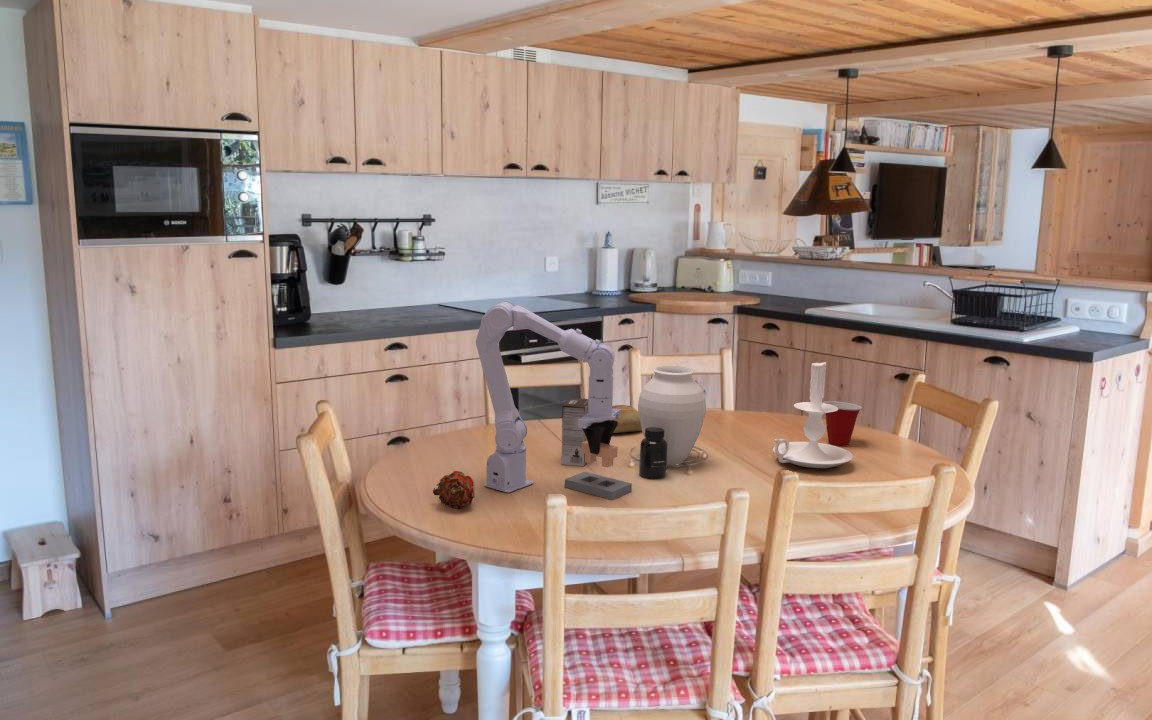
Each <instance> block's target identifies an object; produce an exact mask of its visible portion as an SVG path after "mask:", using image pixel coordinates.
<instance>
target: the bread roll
mask: <svg viewBox="0 0 1152 720" xmlns="http://www.w3.org/2000/svg"><path fill="white" fill-rule="evenodd" d="M614 408H615V409H620V410H621V417H620V418H616V419H615V420H614V421H617V422H618V426H617V427H616V429H615V430H614V432H613V434H619V433H621V434H622V433H630V432H640V431H642V428H641V423H640V418H639V413H638V409H636V408H634V407H632V406H631V405H625V404H623V405H622V404H617V405H616V404H615V405H612V409H614Z"/></svg>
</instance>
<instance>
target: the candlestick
mask: <svg viewBox="0 0 1152 720" xmlns="http://www.w3.org/2000/svg"><path fill="white" fill-rule="evenodd" d="M815 361H816V362H812V363H811V366H810V384H809V400H810V401H802V402H796V403H795V404H793V407H794V408H795V409H798V410H801V411H802V412H806V413H807V414H808V417H807V419H806V421H805V422H804V424H803V427H802V428H803V429H802V430H803V433H804V435H805V436H806V438H807V439H808V441H788V440H787V439H786V438H785V439H784V438H780V439H778V438H775V439H773V441H774V442H775V445H774V447H772V448H773V449H772V451H773V452H774V454H776V455H777V457H778V462H779V463H782V464H784V463H785V464H786V463H791V464H793V465H797V466H799V467H804V468H809V469H810V468H813V469H828V468H834V467H838V466H840V465H842V464H844V463H847V462H850V461H851V460H852V459H853V458H854V456H853V454H852V452H850V451H849V450H847V449H845V448H842V447H841V446H834V445H831V444H829V443H822V442H819V441H818V440H820V439H821V438H822V437H823V436H824V434H825V432H826V425H825V422H824V421H823V415H824V414H825V413H828V412H834V411H837V410H838V408H837V407H836V406H833V405H830V404H825V403H823V399H824V398H825V385H826V375H827V374H826V372H827V362H826V361H824V362H818V361H817V360H815ZM825 415H826V414H825Z"/></svg>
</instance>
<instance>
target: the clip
mask: <svg viewBox="0 0 1152 720" xmlns="http://www.w3.org/2000/svg"><path fill="white" fill-rule="evenodd" d="M618 448H619V446H616V445H613V444H604V443H600V451H599V454H597V455H596V454H592V453H590V449H589V445H588V441H585V442H582V448H581V453H585V462H587V463H588V464H592V463H595V462H597V458H601V467H604V468H609V467H612V466H614V459H615V458H617V457H618V453H619V452H618V450H619V449H618ZM587 463H586V464H587Z"/></svg>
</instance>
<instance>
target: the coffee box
mask: <svg viewBox="0 0 1152 720" xmlns="http://www.w3.org/2000/svg"><path fill="white" fill-rule="evenodd" d="M561 408H562V410H561V411H562V413H561V416H562V417H561V465H564V466H565V465H566V466H578V467H586V464H587V462H585V453H581V448H582V442H585V441H587V438H586V435H585V433H584V431H583V429H582V428H579V427H578V419H580V418H582V417H583V416H585V415H586V414H587V413H588V398H578V397H577V398H575V397H569V398H568V399H567V400H566V401H565V402H564V403H563V404H562V407H561Z"/></svg>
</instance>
